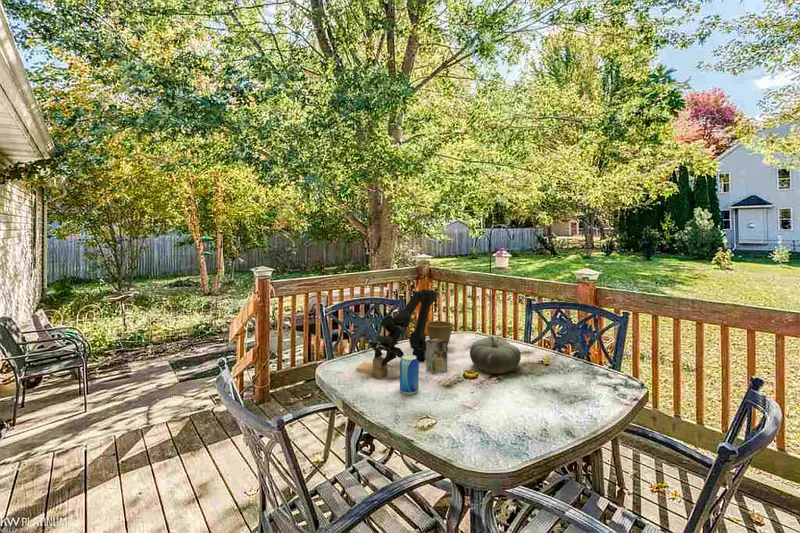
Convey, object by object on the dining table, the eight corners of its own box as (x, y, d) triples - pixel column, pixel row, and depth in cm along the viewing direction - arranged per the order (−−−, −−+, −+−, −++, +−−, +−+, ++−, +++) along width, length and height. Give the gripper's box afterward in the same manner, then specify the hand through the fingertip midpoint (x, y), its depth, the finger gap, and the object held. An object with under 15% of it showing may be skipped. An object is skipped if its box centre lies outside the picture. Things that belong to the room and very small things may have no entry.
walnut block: (379, 373, 207) (379, 356, 206) (387, 376, 204) (387, 358, 203) (372, 376, 204) (372, 359, 202) (380, 379, 200) (380, 361, 199)
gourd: (487, 352, 233) (491, 323, 228) (527, 370, 216) (532, 340, 211) (460, 367, 216) (463, 337, 211) (501, 388, 199) (505, 356, 194)
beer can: (412, 397, 180) (412, 361, 179) (396, 392, 185) (396, 358, 183) (421, 390, 188) (422, 356, 186) (406, 386, 192) (406, 352, 190)
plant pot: (456, 348, 247) (456, 322, 245) (444, 355, 235) (445, 328, 233) (433, 344, 255) (434, 319, 253) (422, 351, 243) (422, 324, 241)
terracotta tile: (379, 368, 216) (379, 364, 216) (372, 374, 207) (372, 370, 207) (363, 366, 219) (363, 362, 219) (356, 372, 210) (356, 367, 210)
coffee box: (440, 367, 217) (441, 337, 215) (447, 371, 211) (447, 340, 209) (425, 370, 212) (425, 339, 211) (432, 374, 207) (432, 343, 205)
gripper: (371, 325, 210) (356, 352, 203) (399, 331, 198) (384, 360, 191) (382, 337, 217) (367, 363, 210) (410, 344, 205) (395, 371, 198)
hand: (378, 364), depth 202 cm, fingers closed on walnut block, 5 cm apart
